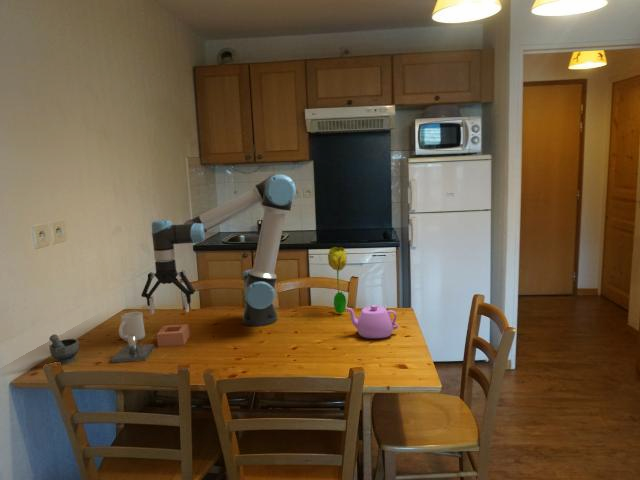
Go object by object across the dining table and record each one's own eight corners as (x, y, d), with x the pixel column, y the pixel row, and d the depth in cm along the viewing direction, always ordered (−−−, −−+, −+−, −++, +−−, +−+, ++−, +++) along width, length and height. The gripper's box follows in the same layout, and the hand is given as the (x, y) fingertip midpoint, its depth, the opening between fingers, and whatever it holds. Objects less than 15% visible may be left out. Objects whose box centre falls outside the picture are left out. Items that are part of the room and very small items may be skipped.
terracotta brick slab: (189, 335, 198) (188, 324, 197) (184, 344, 188) (182, 332, 187) (165, 337, 198) (163, 325, 197) (158, 346, 188) (156, 334, 187)
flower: (330, 312, 217) (326, 247, 212) (347, 310, 218) (344, 245, 213) (332, 318, 209) (328, 250, 204) (351, 316, 209) (347, 249, 205)
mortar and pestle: (62, 356, 184) (58, 326, 182) (86, 355, 183) (81, 325, 181) (43, 368, 173) (38, 336, 171) (68, 368, 172) (63, 336, 170)
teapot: (397, 328, 192) (396, 299, 190) (399, 340, 179) (398, 310, 177) (347, 329, 194) (345, 301, 192) (345, 341, 181) (344, 311, 179)
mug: (129, 346, 190) (126, 321, 188) (112, 345, 193) (109, 320, 191) (149, 335, 201) (146, 311, 199) (133, 334, 204) (130, 310, 202)
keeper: (154, 347, 187) (152, 329, 185) (145, 360, 175) (142, 340, 174) (123, 350, 186) (121, 331, 185) (111, 363, 174) (109, 343, 173)
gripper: (199, 256, 192) (203, 307, 195) (135, 259, 191) (141, 311, 194) (195, 260, 184) (200, 313, 188) (129, 263, 183) (135, 317, 187)
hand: (170, 312), depth 191 cm, fingers open, 13 cm apart
